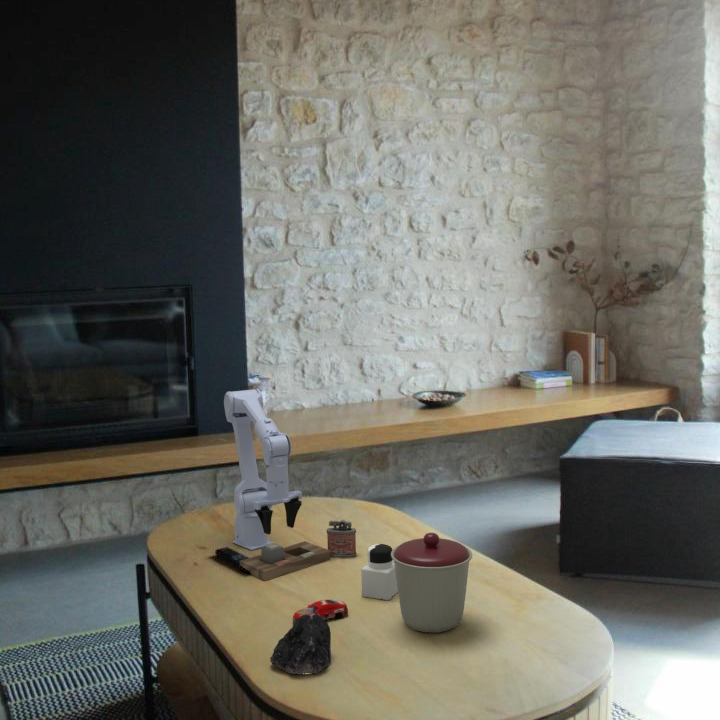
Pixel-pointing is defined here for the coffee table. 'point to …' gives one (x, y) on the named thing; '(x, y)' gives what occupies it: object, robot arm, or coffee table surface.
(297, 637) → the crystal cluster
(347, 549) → the lighter
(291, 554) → the socket board
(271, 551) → the plug
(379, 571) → the medicine bottle
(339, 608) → the race car
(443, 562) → the canister
